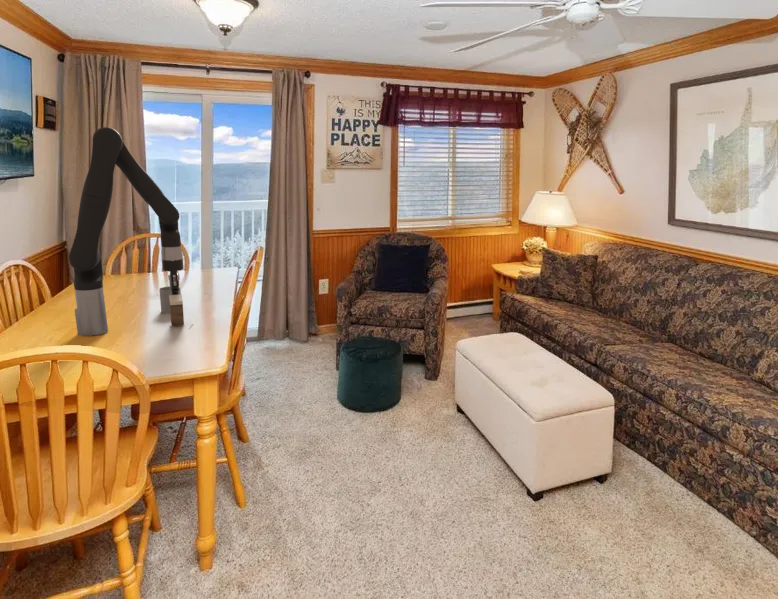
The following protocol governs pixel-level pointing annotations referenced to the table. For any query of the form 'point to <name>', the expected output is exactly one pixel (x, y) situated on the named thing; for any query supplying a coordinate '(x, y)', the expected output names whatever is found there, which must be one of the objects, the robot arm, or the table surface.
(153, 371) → the table surface
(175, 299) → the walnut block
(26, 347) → the table surface
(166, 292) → the cup
